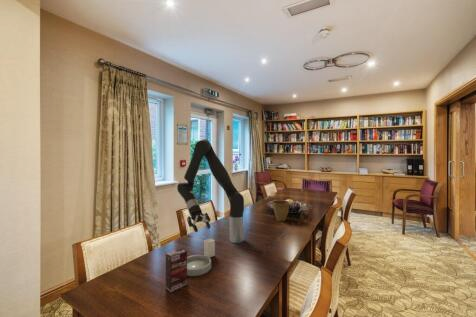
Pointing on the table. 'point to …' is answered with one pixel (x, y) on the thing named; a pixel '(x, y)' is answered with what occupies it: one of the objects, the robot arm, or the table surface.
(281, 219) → the plant pot
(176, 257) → the supplement box
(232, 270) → the table surface
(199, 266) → the round tray
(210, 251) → the cream rectangular block
